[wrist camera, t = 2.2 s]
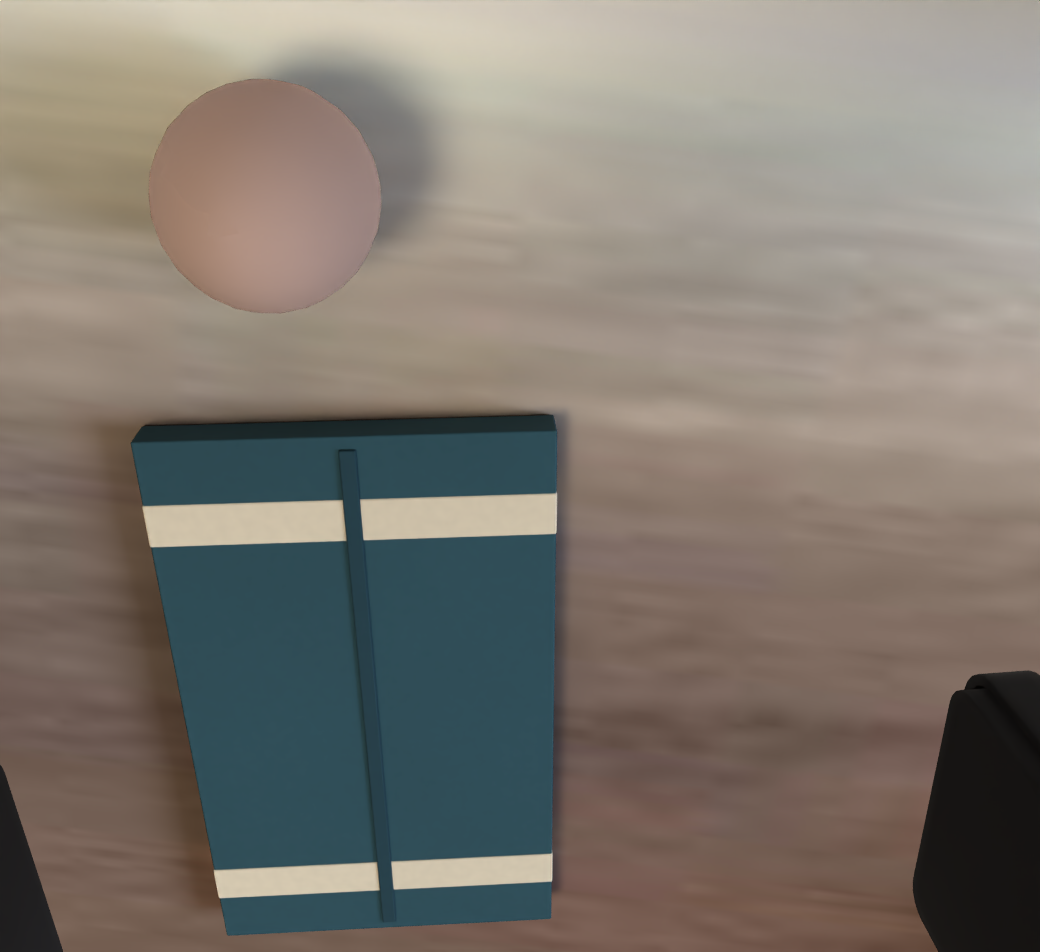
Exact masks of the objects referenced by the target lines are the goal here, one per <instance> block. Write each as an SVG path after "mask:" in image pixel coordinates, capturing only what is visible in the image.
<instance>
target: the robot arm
mask: <svg viewBox="0 0 1040 952" xmlns="http://www.w3.org/2000/svg"><path fill="white" fill-rule="evenodd" d="M913 894H914V899H915V904H916V907H917V910H918V913H919V915H920V918H921V920H922V922H923V924H924V926H925V927H926V929H927V931H928V933H929V935H930V937H931V939H932V941H933V943H934V944H935V946H936V948H937V950H938V952H1040V675H1038V674H1037V673H1035V672H1032V671H1016V672H1002V673H988V674H977V675H974V676H972V677H971V678H970V679H969V680H968V681H967V684H966V687H965V689H964V690H959V691H956V692H955V693H954V694H953V695H952V698H951V700H950V704H949V709H948V714H947V718H946V723H945V728H944V733H943V738H942V743H941V747H940V752H939V757H938V762H937V767H936V771H935V776H934V781H933V786H932V791H931V795H930V800H929V805H928V810H927V815H926V820H925V824H924V829H923V834H922V839H921V844H920V848H919V853H918V858H917V863H916V868H915V872H914V877H913ZM0 952H63V949H62V946H61V943H60V940H59V937H58V934H57V931H56V928H55V925H54V922H53V919H52V916H51V913H50V910H49V907H48V904H47V901H46V897H45V894H44V891H43V888H42V885H41V882H40V879H39V876H38V873H37V870H36V867H35V864H34V861H33V858H32V855H31V852H30V849H29V846H28V842H27V839H26V836H25V833H24V830H23V827H22V824H21V821H20V818H19V815H18V812H17V809H16V806H15V803H14V800H13V797H12V794H11V790H10V787H9V784H8V781H7V778H6V775H5V772H4V770H3V768H2V766H1V765H0Z"/></svg>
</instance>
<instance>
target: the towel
mask: <svg viewBox="0 0 1040 952" xmlns="http://www.w3.org/2000/svg"><path fill="white" fill-rule="evenodd" d="M131 447H132V453H133V458H134V463H135V468H136V473H137V478H138V483H139V488H140V493H141V498H142V504H143V506H142V509H143V514H144V519H145V524H146V529H147V534H148V539H149V545H150V547H151V549H152V554H153V560H154V565H155V570H156V575H157V580H158V585H159V590H160V595H161V600H162V605H163V611H164V616H165V621H166V626H167V631H168V636H169V641H170V646H171V651H172V656H173V662H174V667H175V672H176V677H177V682H178V687H179V692H180V697H181V702H182V707H183V712H184V718H185V723H186V728H187V733H188V738H189V743H190V748H191V753H192V758H193V763H194V769H195V774H196V779H197V784H198V789H199V794H200V799H201V804H202V809H203V814H204V820H205V825H206V830H207V835H208V840H209V845H210V850H211V855H212V860H213V865H214V876H215V881H216V886H217V891H218V896H219V898H220V901H221V906H222V911H223V916H224V921H225V927H226V932H227V935H228V936H230V935H249V934H268V933H287V932H306V931H326V930H345V929H364V928H383V927H403V926H422V925H441V924H460V923H480V922H499V921H518V920H537V919H550V918H551V883H552V858H553V854H552V804H553V725H554V645H555V566H556V532H557V491H556V487H557V429H556V424H555V420H554V416H553V415H541V416H504V417H468V418H431V419H394V420H357V421H320V422H283V423H246V424H209V425H173V426H143V427H142V428H141V429H140V430H139V432H138V433H137V435H136V436H135V438H134V439H133V440H132V442H131Z"/></svg>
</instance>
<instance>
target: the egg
mask: <svg viewBox="0 0 1040 952" xmlns="http://www.w3.org/2000/svg"><path fill="white" fill-rule="evenodd" d="M149 202H150V210H151V218H152V221H153V224H154V226H155V229H156V232H157V234H158V237H159V240H160V243H161V245H162V247H163V248H164V250H165V251H166V253H167V254H168V256H169V257H170V259H171V260H172V262H173V263H174V265H175V266H176V268H177V269H178V271H180V272H181V273H182V274H183V275H184V276H185V277H186V278H187V279H188V280H189V281H190V282H191V283H192V284H193V285H194V286H196V287H197V288H198V289H200V290H201V291H203V292H204V293H205V294H207V295H208V296H210V297H211V298H213V299H215V300H217V301H220V302H222V303H224V304H227V305H229V306H231V307H233V308H236V309H240V310H245V311H250V312H257V313H284V312H289V311H294V310H298V309H303V308H307V307H309V306H311V305H314V304H316V303H318V302H320V301H322V300H324V299H325V298H327V297H328V296H330V295H331V294H333V293H334V292H336V291H337V290H339V289H340V288H342V287H343V286H344V285H345V284H346V283H347V282H348V281H349V280H350V279H351V278H352V277H353V276H354V275H355V274H356V273H357V271H358V270H359V268H360V266H361V265H362V263H363V262H364V260H365V259H366V257H367V255H368V253H369V251H370V248H371V246H372V244H373V241H374V239H375V236H376V234H377V231H378V226H379V220H380V213H381V190H380V182H379V177H378V172H377V169H376V165H375V162H374V158H373V156H372V154H371V152H370V150H369V148H368V146H367V145H366V143H365V141H364V139H363V137H362V135H361V134H360V132H359V130H358V129H357V128H356V127H355V126H354V124H353V123H352V122H351V121H350V120H349V119H348V118H347V117H346V116H345V114H344V113H343V112H342V111H341V110H340V109H339V108H337V107H336V106H334V105H333V104H331V103H330V102H328V101H327V100H325V99H324V98H322V97H321V96H319V95H318V94H316V93H315V92H313V91H312V90H309V89H307V88H305V87H302V86H300V85H297V84H292V83H287V82H283V81H277V80H271V79H249V80H244V81H239V82H234V83H229V84H225V85H223V86H221V87H218V88H216V89H213V90H211V91H209V92H206V93H205V94H204V95H202V96H201V97H199V98H198V99H196V100H195V101H194V102H192V103H191V104H189V105H188V106H187V107H186V108H185V109H184V110H183V111H182V112H181V114H180V115H179V116H178V117H177V118H176V119H175V120H174V121H173V122H172V123H171V125H170V126H169V127H168V128H167V130H166V132H165V134H164V136H163V138H162V141H161V143H160V145H159V147H158V149H157V151H156V154H155V157H154V160H153V163H152V166H151V170H150V179H149Z"/></svg>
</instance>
